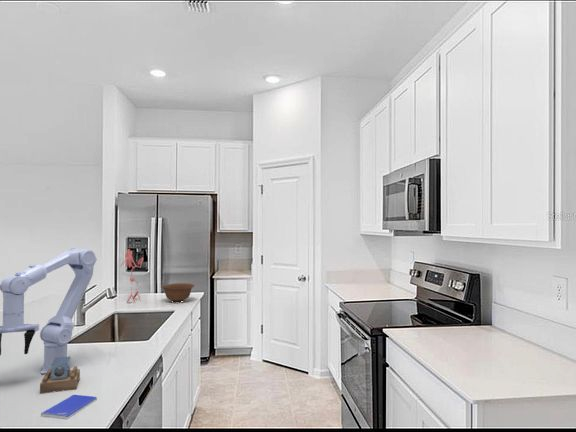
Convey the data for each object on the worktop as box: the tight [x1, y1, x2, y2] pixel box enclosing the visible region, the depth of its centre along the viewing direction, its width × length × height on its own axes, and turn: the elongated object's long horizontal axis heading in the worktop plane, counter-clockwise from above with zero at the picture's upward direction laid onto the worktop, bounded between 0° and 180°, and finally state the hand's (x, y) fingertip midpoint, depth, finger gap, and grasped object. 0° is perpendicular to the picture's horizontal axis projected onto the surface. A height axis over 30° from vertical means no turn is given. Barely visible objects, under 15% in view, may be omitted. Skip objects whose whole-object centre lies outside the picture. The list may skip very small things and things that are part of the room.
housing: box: [51, 355, 72, 381], centre depth 134 cm, size 7×4×5 cm, turn 20°
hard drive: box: [40, 394, 98, 420], centre depth 118 cm, size 2×8×12 cm
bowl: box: [160, 282, 195, 302], centre depth 276 cm, size 22×22×11 cm
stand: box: [39, 365, 81, 394], centre depth 134 cm, size 10×10×4 cm
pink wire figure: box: [120, 248, 145, 303], centre depth 276 cm, size 15×26×35 cm, turn 178°
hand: (12, 354), depth 135 cm, fingers open, 7 cm apart
